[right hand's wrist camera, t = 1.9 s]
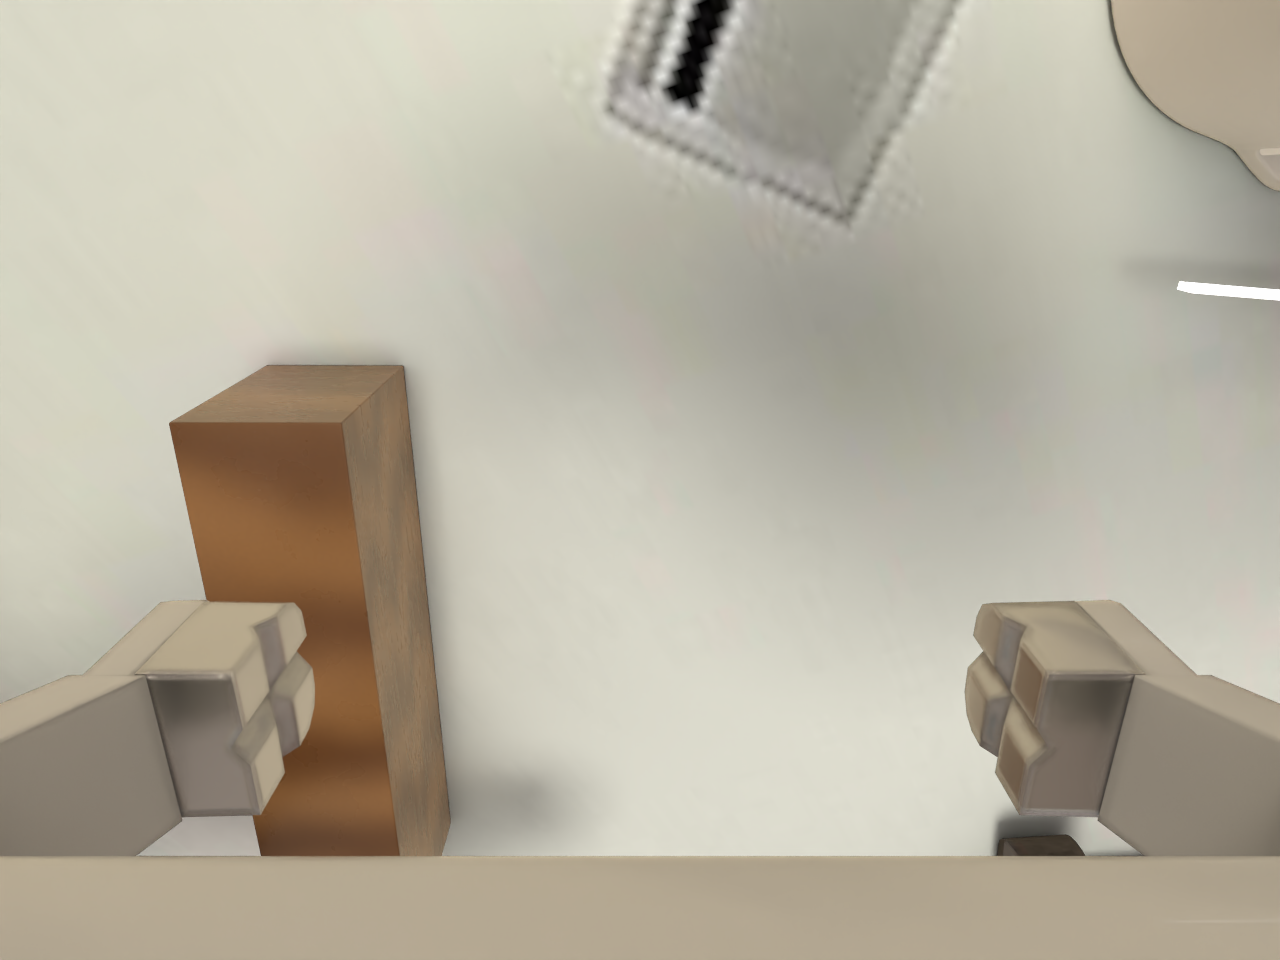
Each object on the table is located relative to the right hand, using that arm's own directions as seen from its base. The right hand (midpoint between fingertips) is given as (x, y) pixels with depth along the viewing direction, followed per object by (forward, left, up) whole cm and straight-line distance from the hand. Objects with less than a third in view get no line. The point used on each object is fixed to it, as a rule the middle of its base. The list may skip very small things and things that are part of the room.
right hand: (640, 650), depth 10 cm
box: (+18, +13, -30) cm, 38 cm away
